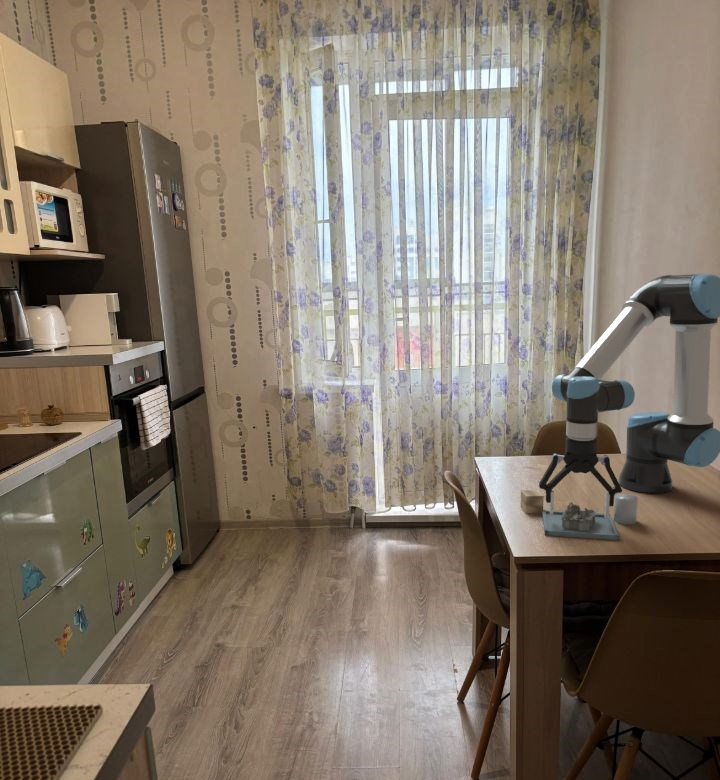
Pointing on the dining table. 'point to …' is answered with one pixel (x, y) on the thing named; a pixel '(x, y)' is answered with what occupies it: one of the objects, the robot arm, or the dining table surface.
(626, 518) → the white cylinder
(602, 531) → the tray
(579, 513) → the grey castle model
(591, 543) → the dining table surface
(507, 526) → the dining table surface
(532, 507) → the oak block
